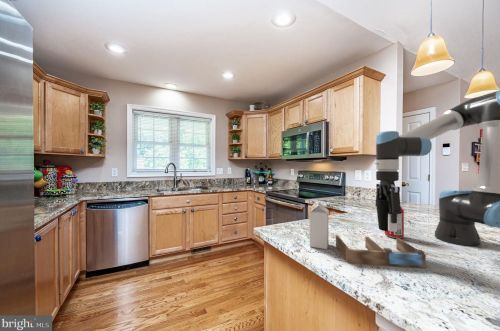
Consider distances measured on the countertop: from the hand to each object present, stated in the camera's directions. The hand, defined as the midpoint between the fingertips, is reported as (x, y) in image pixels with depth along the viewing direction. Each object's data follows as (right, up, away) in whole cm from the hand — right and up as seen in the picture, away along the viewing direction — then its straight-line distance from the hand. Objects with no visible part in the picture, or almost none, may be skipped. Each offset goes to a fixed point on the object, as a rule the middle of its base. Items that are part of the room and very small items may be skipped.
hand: (387, 227), depth 83 cm
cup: (0, -1, 0) cm, 1 cm away
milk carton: (-24, -10, +8) cm, 28 cm away
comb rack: (-6, -10, -3) cm, 12 cm away
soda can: (+16, -10, +19) cm, 26 cm away
